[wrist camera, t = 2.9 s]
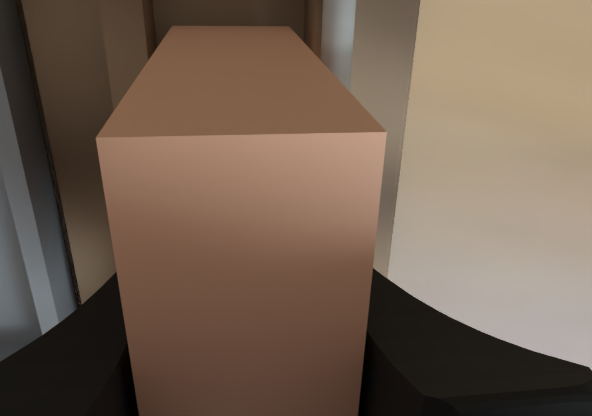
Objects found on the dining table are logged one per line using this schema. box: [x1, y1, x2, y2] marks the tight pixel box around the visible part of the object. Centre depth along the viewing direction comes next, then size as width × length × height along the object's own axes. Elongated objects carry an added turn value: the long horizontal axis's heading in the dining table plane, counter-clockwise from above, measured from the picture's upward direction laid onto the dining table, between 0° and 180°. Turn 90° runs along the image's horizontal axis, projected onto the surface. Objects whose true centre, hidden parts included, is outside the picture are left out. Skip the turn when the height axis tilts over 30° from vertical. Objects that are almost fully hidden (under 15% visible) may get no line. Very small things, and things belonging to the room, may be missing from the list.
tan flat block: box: [96, 26, 387, 416], centre depth 12 cm, size 10×3×9 cm, turn 179°
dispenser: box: [21, 0, 420, 304], centre depth 16 cm, size 18×11×4 cm, turn 179°
